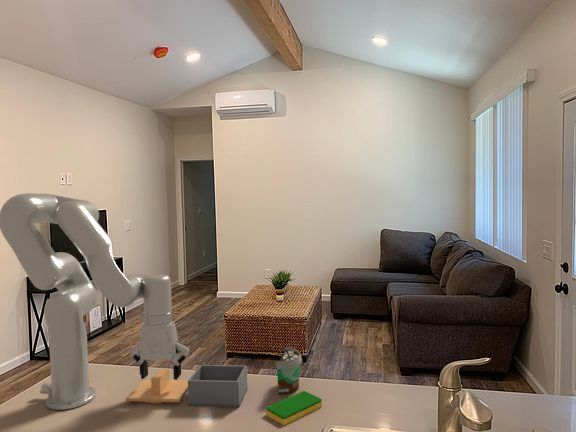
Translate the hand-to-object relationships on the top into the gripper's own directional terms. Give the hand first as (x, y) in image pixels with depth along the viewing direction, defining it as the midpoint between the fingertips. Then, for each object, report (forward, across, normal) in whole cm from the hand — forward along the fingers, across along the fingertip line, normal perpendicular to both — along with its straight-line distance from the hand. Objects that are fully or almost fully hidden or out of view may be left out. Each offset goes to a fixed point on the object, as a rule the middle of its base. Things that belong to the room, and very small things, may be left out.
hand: (160, 377), depth 123 cm
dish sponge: (+6, +39, -6) cm, 40 cm away
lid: (+5, 0, 0) cm, 5 cm away
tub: (+5, +17, 0) cm, 18 cm away
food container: (+6, +37, +7) cm, 38 cm away
